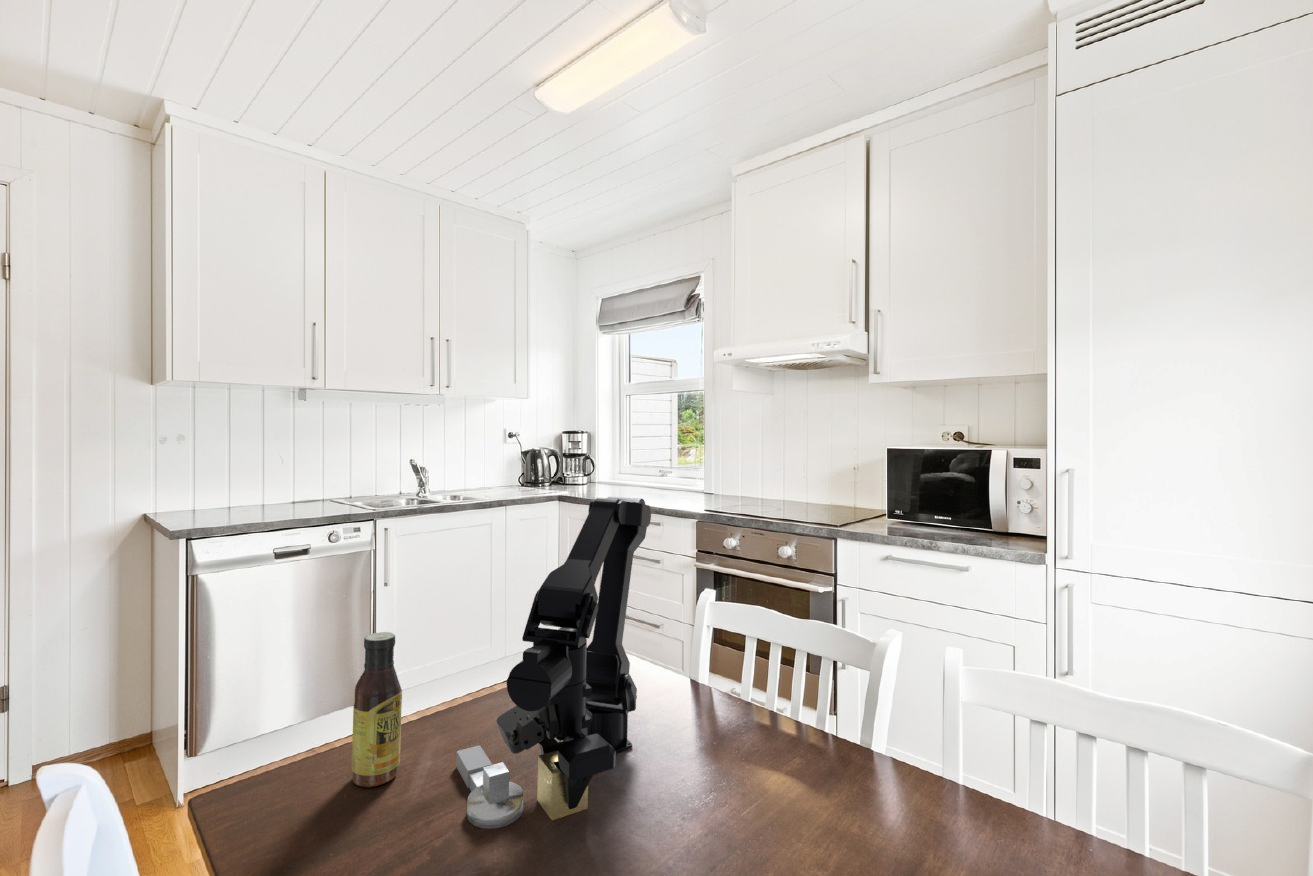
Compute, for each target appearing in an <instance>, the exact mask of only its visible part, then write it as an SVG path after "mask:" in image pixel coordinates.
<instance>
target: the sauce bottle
mask: <svg viewBox="0 0 1313 876" xmlns="http://www.w3.org/2000/svg"><path fill="white" fill-rule="evenodd" d="M395 645H396V634H394V633H393V632H388V631H383V632H382V631H381V632H374V633H370V634H368V635H365V636H364V639H363V647H364V649H365V650H364V651H365V653H364V655H365V657H364V664H363V666H364V667H363V668H364V670H363V673H362V674H361V675H360V676H359V678H358V680H357V683H356V684H355V689H354V704H353V710H352V711H353V712H352V713H353V715H352V739H351V741H352V743H351V767H350V769H351V772H352V782H353V784H355V785H356V786H358V787H364V788H373V787H377V786H382V785H384V784H386V783H387V784H388V782H390V781H392V780H394V779H395V778H396V776H397V775H398V772H399V768H400V767H399V766H400V764H401V763H400V762H401V744H402V743H401V742H402V741H401V740H402V738H401V737H402V736H401V735H402V733H401V732H402V701H403V700H402V699H403V690H402V687H401V683H400V681H399V678H398V675H397V671H396V669H395V665H394V664H395V661H394V649H395Z"/></svg>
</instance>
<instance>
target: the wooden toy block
mask: <svg viewBox="0 0 1313 876" xmlns="http://www.w3.org/2000/svg"><path fill="white" fill-rule="evenodd" d="M558 751H559V750H557V751H553V752H550V753H546V754H543V755H542V754H539V755H538V756H537V792H536V794H537V800H536V801H537V802H538V803H539V805H540V807H541V808H542V809H543V810H544V812H545V813H546V815H547V816H548V817H549V819H550V820H551V821H555V820H558V819H561V818H563V817H566V816H570V815H572V814H576V813H579V812H582V811H584V810H585V811H586V810H588V806H589V805H588V804H589V803H588V802H589V800H588V799H589V785H588V786H587V788H586V790H585V792H584V794H583V796H582V798H581V800H580V802H579V804H578V806H577V807H576V808H573V809H569V808H568V804H567V798H566V790H565V781H564V775H563V774H562V773H561V772H560V771H559V770H558V769H557V767H556V766H555V765H554V764H553V762H557V761H558Z"/></svg>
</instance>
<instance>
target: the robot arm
mask: <svg viewBox="0 0 1313 876" xmlns="http://www.w3.org/2000/svg"><path fill="white" fill-rule="evenodd" d="M651 520H652V509H651V506H650V505H648V504H646V501H645V500H644V498H636V497H618V496H617V497H616V496H607V497H606V498H605V497H597V498H595V499H591V500H590V502H589V504H588V514H587V516H586V518H585V520H584V522H583V524H582V527H581V528H580V531H579V533H578V535H577V537H576V539H575V542H574V543H573V545H572V548H571V550H570V552H569V554H568V556H567V558H566V560H565V561H564V563H563V564H562V565H560V566H558V567H557V568H555V569H554V570H552V571H550V572H549V573H548V575H547V576H546V577H545V579H544V581H543V583H542V584H541V586H540V588H539V589H537V591H536V593H535V595H534V598H533V601H532V603H531V608H530V610H529V611H530V612H529V615H528V618H527V620H526V621H527V622H526V624H525V628H524V630H523V631H524V632H523V634H522V638H521V639H522V642H527V643H532V646H531V647H528V648H526V649H525V650H524V651H523V652H522V660H521V661H520V662H518V663H517V664H516V665H515V666H514V667H512V668H511V670H510V671H509V675H508V677H507V678H506V690H507V694H508V696H509V698H510V699H511V701H512V702H513V704H514V705H515V706H513V707H512V708H511V709H508V710H507V711H505V712H504V713H502V714H500V715H499V716H498V717H497V718H496V724H497V726H498V728H499V732H500V734H501V737H502V739H503V742H504V744H505V745H506V746H507V747H508V749H509V750H510V752H511V753H512V754H520V753H521V752H523V751H525V750H530V749H532V748H533V747H535V746H536V745H537V744H538V746H539V747H538V748H539V750H540V753H541V754H540V755H543V754H546V753H550V752H553V751H557V750H559V751H558V761H557V762H553V764H554V765H555V766H556V767H557V769H558V770H559V771H560V772H561V773H562V774H563V775H564V781H565V790H566V798H567V804H568V808H569V809H573V808H576V807H577V806H578V804H579V802H580V800H581V798H582V796H583V794H584V792H585V790H586V788H587V786H588V787H589V784H590V783H591V780H592V778H593V776H594V775H597V774H600V773H603V772H606V771H609V770H613V769H615V767H616V754H617V753H620V752H621V751H625V750H628V749H632V748H633V743H632V742H631V741H630V739H628V726H629V725H628V724H629V723H628V718H629V716H628V715H629V712H630V713H631V712H634V711H636V709H637V697H638V693H637V691H638V689H637V686H636V684H635V682H634V679H633V678H632V676H631V675H630V669H631V667H630V666H631V663H630V660H629V658H628V655H627V653H626V651H625V648H624V646H623V641H624V639H623V638H624V631H625V624H626V615H627V609H628V608H627V607H628V599H629V590H630V584H631V583H630V582H631V576H632V569H633V561H634V553H635V551H637V549H638V548H639V547H640V545H641V544H642V543H643V542H644V540H645V539H646V534H647V530H648V529H647V528H648V527H649V526H650V524H651ZM601 569H602V570H601ZM600 571H602V572H601V578H600V584H599V585H600V586H599V592H597V590H596V582H597V578H598V576H599V573H600ZM540 625H543V626H546V628H545V627H540ZM547 627H556V628H559V629H555V628H547ZM593 627H594V629H593ZM592 630H593V634H592V635H593V636H592V640H591V642H590V643H589V644H588V643H587V642H588V640H587V639H590V636H591V633H592Z"/></svg>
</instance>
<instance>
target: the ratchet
mask: <svg viewBox="0 0 1313 876" xmlns="http://www.w3.org/2000/svg"><path fill="white" fill-rule="evenodd" d="M455 764H456V769H457V771H458V772H459V775H460V776H461V779H462V780H463V782H464V785H466V787H467V789H469V790H470V793H469V794H468V797H467V802H466V803H467V806H466V807H467V810H466V811H467V813H466V814H467V815H466V816H467V820H468V821H469V823H470V824H471V825H473V826H475V827H478V828H480V829H488V830H489V829H490V830H491V829H498V828H503V827H506V826H508V825H511V824H513V823H514V822H515V821H518V820H519V818H520V817H521V815H522V814H523V812H524V790H523V788H522V787H521V786H520V785H519V784H517V783H515V782H512V781H510V771H509V769H508V767H507V765H506V764H505V763H504V762H503V761H502V762H498V763H495V764H493V763H492V762H491V760H490V759H489V756H488V755H487V753H485V751H484V749H483V748H482V746H481V745H475V746H472V747H468V748H464V749H460V750H457V751H456V763H455Z"/></svg>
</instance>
